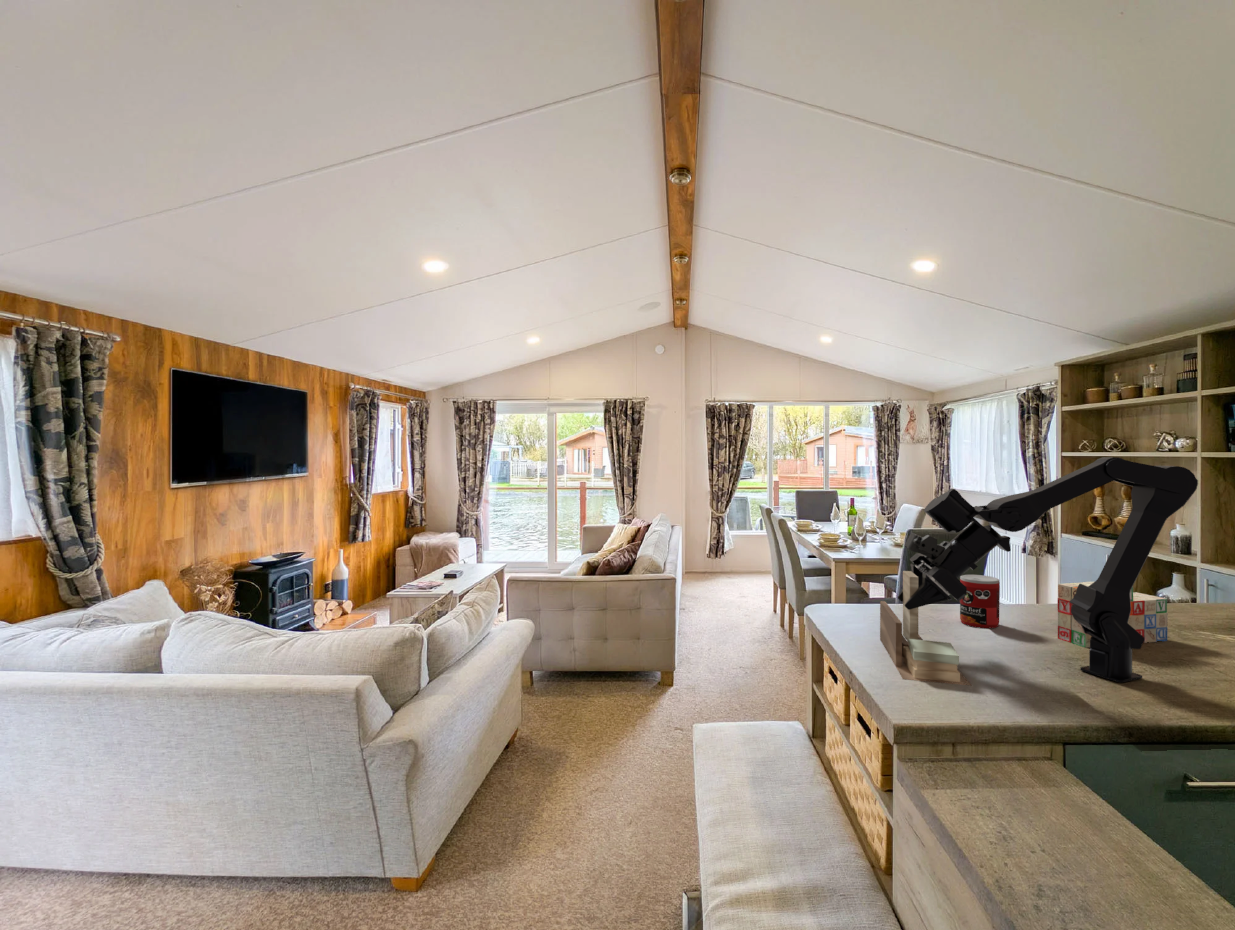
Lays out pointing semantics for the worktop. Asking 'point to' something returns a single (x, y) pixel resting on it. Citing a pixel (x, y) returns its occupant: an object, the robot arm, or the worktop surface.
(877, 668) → the worktop surface
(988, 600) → the canned food
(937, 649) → the offcut stack
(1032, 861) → the worktop surface
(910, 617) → the birch board
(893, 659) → the offcut rack
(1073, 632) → the stack of blocks
